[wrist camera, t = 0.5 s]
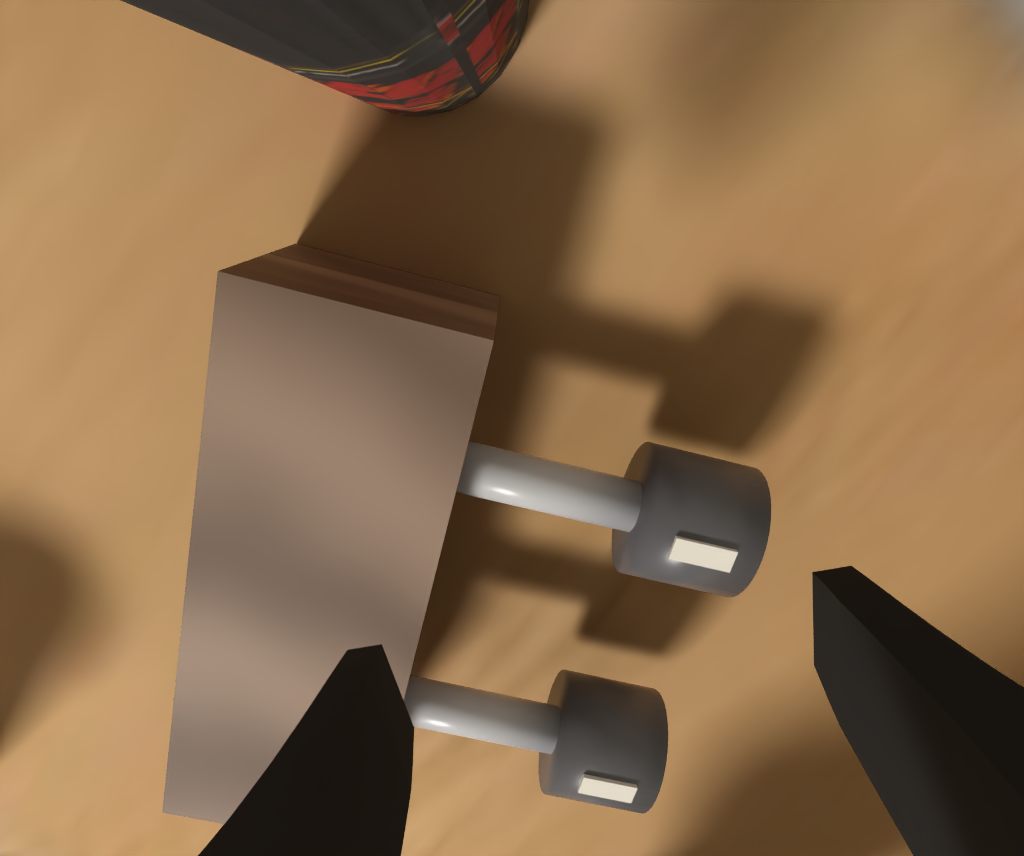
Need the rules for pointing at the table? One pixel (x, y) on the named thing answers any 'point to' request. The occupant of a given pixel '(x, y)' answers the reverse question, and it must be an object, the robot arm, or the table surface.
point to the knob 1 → (645, 509)
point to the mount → (314, 497)
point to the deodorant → (369, 43)
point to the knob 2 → (563, 733)
